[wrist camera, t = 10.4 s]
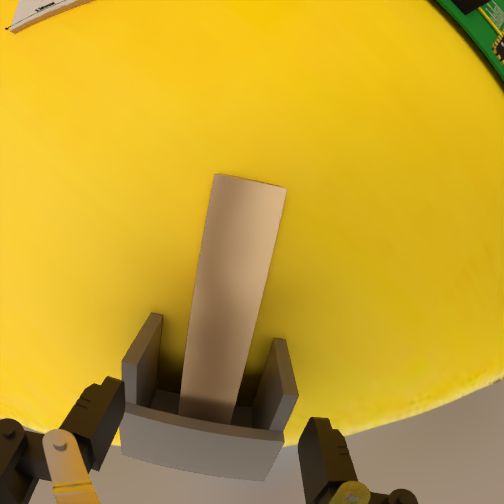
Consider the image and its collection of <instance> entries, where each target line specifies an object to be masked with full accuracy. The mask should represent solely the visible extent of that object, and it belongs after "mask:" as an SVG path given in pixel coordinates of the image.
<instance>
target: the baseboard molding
mask: <svg viewBox="0 0 504 504" xmlns="http://www.w3.org/2000/svg"><path fill="white" fill-rule="evenodd" d="M92 1H95V0H19V3H18V6H17V9H16V12H15V15H14V18H13V21H12V25H11V26H10V27H11V29H10V32H13V33H17V32H19V31H21V30H23V29H25V28H27V27H29V26H31V25H33V24H36V23H38V22H40V21H42V20H44V19H47V18H49V17H51V16H54V15H56V14H59V13H61V12H64V11H66V10H69V9H72V8H74V7H77V6H80V5H83V4H86V3H89V2H92ZM8 28H9V27H8ZM8 28H5V30H8Z"/></svg>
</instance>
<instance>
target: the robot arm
mask: <svg viewBox="0 0 504 504" xmlns="http://www.w3.org/2000/svg"><path fill="white" fill-rule="evenodd" d="M125 406H126V404H125V383H124V381H122V380H119V379H115V378H112V377H109V376H107V377H106V378H105V380H104V381H103V383H102V385H101V386H100V385H98V384H95V383H94V384H92V385H91V386H89V387H87V388H86V389H85V390H84V391H83V393H82V394H81V396H80V398H79V399H78V400H77V402H76V404H75V405H74V406H73V408H72V409H71V411H70V412H69V414H68V415H67V417H66V419H65V420H64V422H63V423H62V425H61V426H60V428H59V429H54V430H51V431H49V432H47V433H46V434H39V433H34V432H29V431H25V430H24V429H23V427H22V425H21V424H20V423H19V422H18V421H16V420H14V419H9V418H6V419H2V420H0V504H28V503H29V501H30V499H31V496H32V494H33V492H34V490H35V487H36V485H37V483H38V481H39V479H42V480H48V481H52V482H53V492H54V495H55V499H56V502H57V504H101V503H100V501H99V499H98V496H97V494H96V492H95V489H94V487H93V485H92V483H91V480H90V478H89V475H88V474H89V472H90V470H91V469H94V470H96V471H99V470H100V467H101V465H102V463H103V461H104V458H105V456H106V454H107V452H108V449H109V447H110V445H111V443H112V441H113V438H114V436H115V434H116V432H117V430H118V427H119V425H120V423H121V421H122V419H123V416H124V413H125ZM298 454H299V461H300V467H301V474H302V480H303V486H304V493H305V500H306V504H418V502H417V499H416V497H415V495H414V494H413V493H412V492H410V491H408V490H406V489H397V490H394V491H393V492H392V493H391V494H390V495H386V494H379V493H373V492H370V491H369V489H368V488H367V487H366V486H365V485H364V484H362V483H360V482H358V479H357V476H356V473H355V470H354V466H353V463H352V460H351V457H350V455H349V450H348V448H347V444H346V441H345V438H344V436H343V435H342V434H341V433H340V432H339V430H338V429H332V427H331V424H330V420H329V419H328V418H319V417H311V418H310V419H309V421H308V423H307V425H306V427H305V429H304V431H303V433H302V435H301V437H300V439H299V443H298Z"/></svg>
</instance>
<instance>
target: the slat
mask: <svg viewBox="0 0 504 504" xmlns="http://www.w3.org/2000/svg"><path fill="white" fill-rule="evenodd" d="M286 193H287V189H286V188H283V187H281V186H278V185H273V184H269V183H264V182H259V181H255V180H250V179H245V178H240V177H235V176H230V175H225V174H215V175H214V180H213V185H212V190H211V195H210V201H209V206H208V211H207V216H206V222H205V227H204V233H203V239H202V244H201V250H200V256H199V262H198V268H197V274H196V280H195V287H194V293H193V300H192V307H191V314H190V321H189V328H188V335H187V343H186V350H185V358H184V366H183V375H182V383H181V393H180V402H179V412H178V415H179V416H183V417H188V418H193V419H198V420H203V421H208V422H214V423H220V424H226V425H230V422H231V418H232V414H233V411H234V407H235V403H236V399H237V395H238V392H239V388H240V384H241V380H242V376H243V372H244V368H245V364H246V360H247V356H248V352H249V348H250V344H251V340H252V336H253V332H254V328H255V324H256V320H257V316H258V312H259V308H260V304H261V300H262V296H263V292H264V287H265V283H266V279H267V275H268V271H269V266H270V262H271V258H272V254H273V249H274V245H275V241H276V236H277V232H278V228H279V223H280V219H281V215H282V210H283V206H284V201H285V197H286Z"/></svg>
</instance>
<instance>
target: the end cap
mask: <svg viewBox="0 0 504 504" xmlns="http://www.w3.org/2000/svg"><path fill="white" fill-rule="evenodd" d="M162 321H163V315H160V314H156V313H152V312H151V314H150V315H149V317H148V319H147V320H146V322H145V323H144V325H143V327H142V328H141V330H140V331H139V333H138V335H137V336H136V338H135V340H134V341H133V343H132V345H131V346H130V348H129V350H128V351H127V353H126V355H125V356H124V358H123V360H122V381H124V383H125V404H126V406H125V413H124V416H123V419H122V421H121V423H120V425H119V430H120V440H121V449H122V455H125V456H128V457H131V458H135V459H138V460H141V461H145V462H149V463H153V464H157V465H161V466H165V467H169V468H174V469H178V470H183V471H188V472H194V473H199V474H205V475H211V476H218V477H225V478H234V479H242V480H253V481H264V480H265V478H266V477H267V475H268V473H269V471H270V469H271V467H272V465H273V463H274V462H275V459H276V458H277V456H278V454H279V452H280V450H281V448H282V446H283V444H284V442H285V441H284V434H283V431H284V428H285V426H286V424H287V422H288V420H289V417H290V415H291V413H292V411H293V408H294V406H295V404H296V401H297V399H298V397H299V394H298V390H297V386H296V381H295V377H294V373H293V369H292V364H291V360H290V356H289V352H288V347H287V343H286V340H283V339H277V338H274V339H273V342H272V346H271V349H270V352H269V355H268V359H267V362H266V365H265V368H264V371H263V374H262V378H261V381H260V384H259V387H258V390H257V393H256V396H255V399H254V402H253V405H252V407H246V406H239V405H235V407H234V411H233V414H232V418H231V422H230V425H226V424H220V423H214V422H208V421H203V420H198V419H193V418H188V417H183V416H179V415H178V412H179V402H180V394H177V393H172V392H168V391H164V390H160V389H156V388H157V374H158V362H159V350H160V340H161V330H162Z"/></svg>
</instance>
